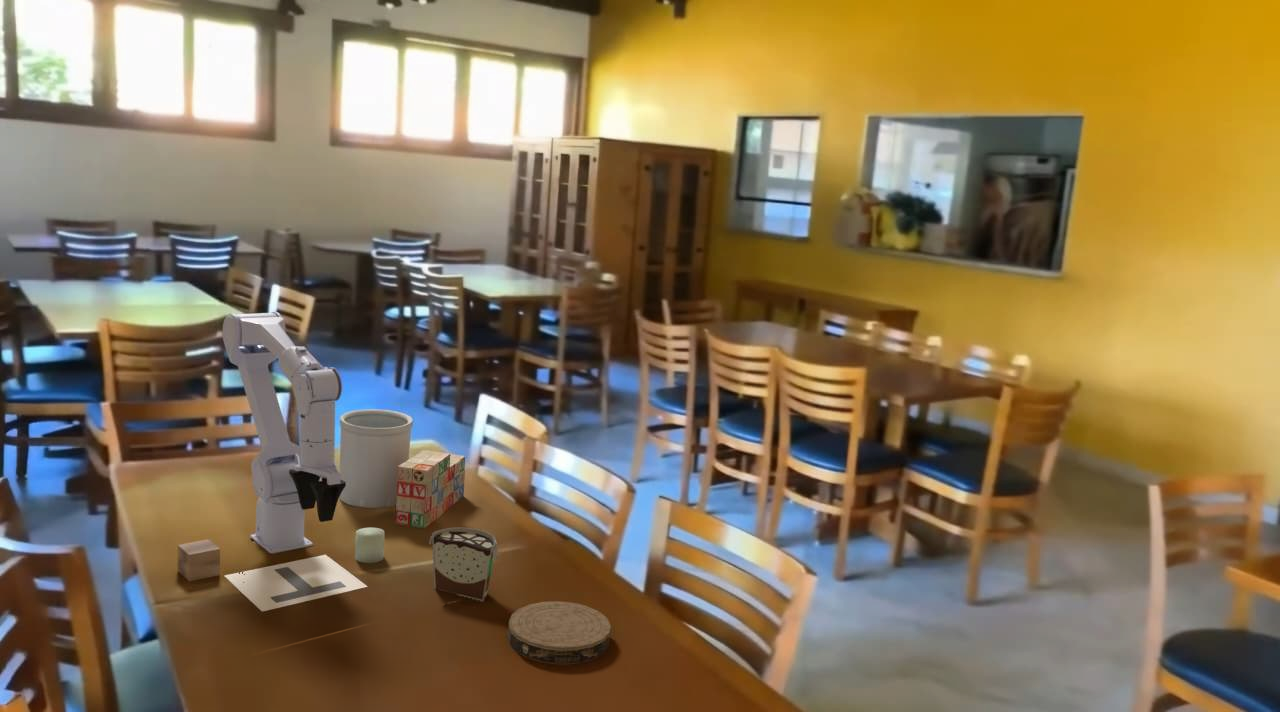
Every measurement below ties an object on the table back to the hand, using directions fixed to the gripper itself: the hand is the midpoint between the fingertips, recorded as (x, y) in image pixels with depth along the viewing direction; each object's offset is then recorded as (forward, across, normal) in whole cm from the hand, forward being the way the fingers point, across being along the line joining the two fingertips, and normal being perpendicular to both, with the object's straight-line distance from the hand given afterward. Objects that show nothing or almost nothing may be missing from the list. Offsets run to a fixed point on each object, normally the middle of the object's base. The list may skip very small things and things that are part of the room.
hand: (316, 514), depth 173 cm
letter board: (+10, +5, -6) cm, 12 cm away
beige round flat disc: (+12, +44, +21) cm, 50 cm away
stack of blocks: (+9, -16, +32) cm, 37 cm away
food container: (+11, +21, +18) cm, 30 cm away
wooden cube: (+9, -6, -18) cm, 21 cm away
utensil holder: (+9, -28, +25) cm, 38 cm away
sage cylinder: (+10, +1, +9) cm, 13 cm away
